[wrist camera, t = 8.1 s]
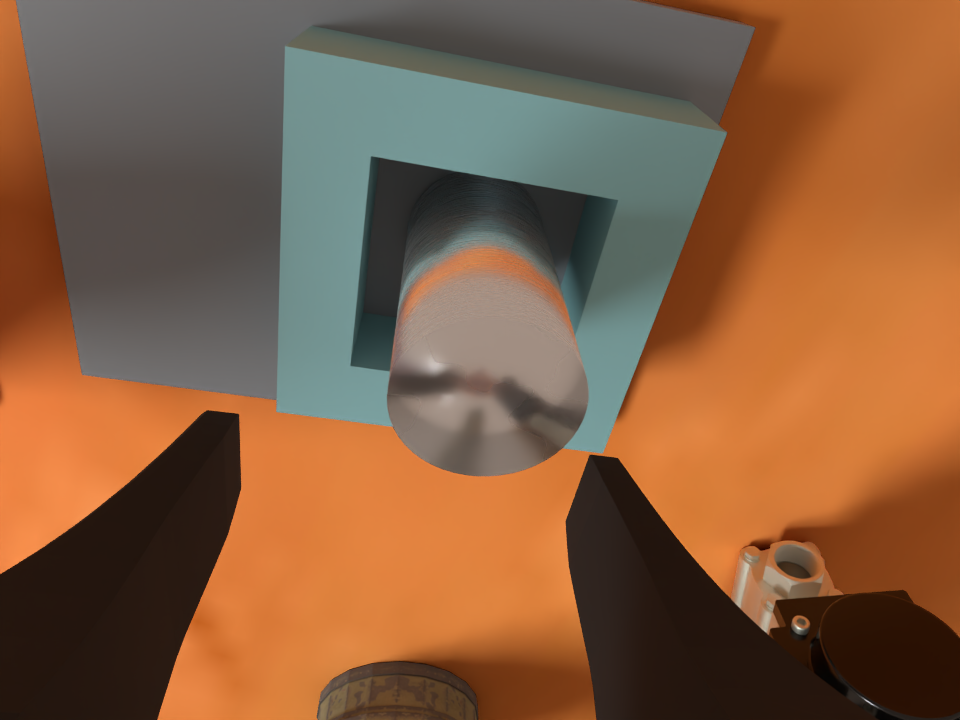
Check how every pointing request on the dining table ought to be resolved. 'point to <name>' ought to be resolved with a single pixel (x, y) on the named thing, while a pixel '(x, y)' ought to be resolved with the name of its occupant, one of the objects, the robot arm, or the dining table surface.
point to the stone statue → (397, 694)
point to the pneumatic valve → (852, 634)
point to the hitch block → (359, 174)
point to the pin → (482, 333)
